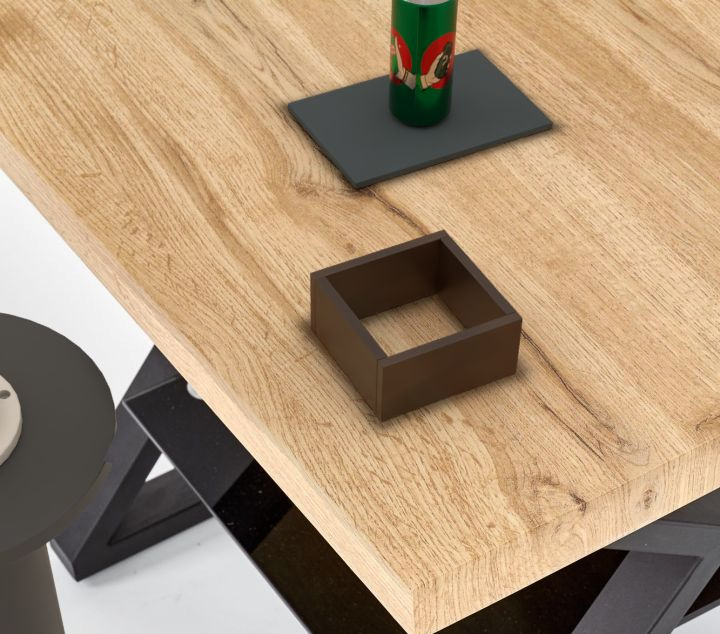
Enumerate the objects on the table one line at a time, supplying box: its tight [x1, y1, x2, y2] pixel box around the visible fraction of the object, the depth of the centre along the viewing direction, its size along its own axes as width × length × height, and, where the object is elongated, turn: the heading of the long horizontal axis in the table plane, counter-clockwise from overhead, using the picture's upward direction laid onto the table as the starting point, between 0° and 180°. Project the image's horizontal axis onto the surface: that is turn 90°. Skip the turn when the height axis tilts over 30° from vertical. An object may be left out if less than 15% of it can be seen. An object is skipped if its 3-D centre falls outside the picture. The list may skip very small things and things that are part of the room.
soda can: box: [388, 0, 459, 127], centre depth 123 cm, size 5×5×12 cm
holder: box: [309, 229, 524, 423], centre depth 108 cm, size 11×11×5 cm
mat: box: [287, 48, 554, 190], centre depth 128 cm, size 18×12×1 cm, turn 118°
